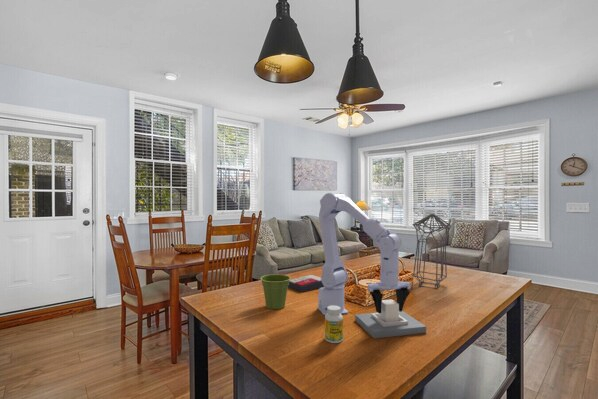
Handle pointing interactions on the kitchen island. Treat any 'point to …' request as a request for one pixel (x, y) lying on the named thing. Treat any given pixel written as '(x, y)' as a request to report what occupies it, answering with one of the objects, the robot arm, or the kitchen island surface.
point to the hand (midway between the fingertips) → (389, 311)
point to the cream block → (389, 311)
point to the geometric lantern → (431, 242)
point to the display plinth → (389, 325)
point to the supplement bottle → (333, 324)
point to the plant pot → (275, 290)
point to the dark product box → (306, 283)
